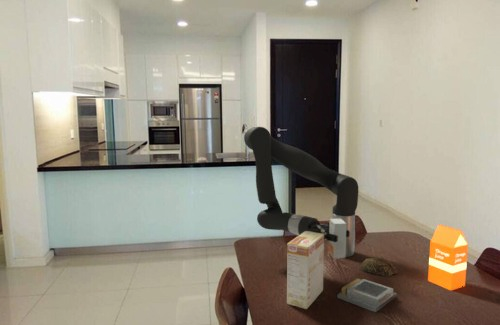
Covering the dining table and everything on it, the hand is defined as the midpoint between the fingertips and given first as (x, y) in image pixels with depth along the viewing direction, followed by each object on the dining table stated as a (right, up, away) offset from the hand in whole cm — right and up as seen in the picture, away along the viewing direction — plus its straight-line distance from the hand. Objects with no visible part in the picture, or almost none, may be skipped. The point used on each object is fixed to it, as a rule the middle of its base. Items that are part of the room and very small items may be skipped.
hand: (343, 236), depth 127 cm
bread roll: (+18, -16, +17) cm, 29 cm away
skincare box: (-2, -7, +2) cm, 8 cm away
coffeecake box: (-13, -19, -5) cm, 23 cm away
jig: (+6, -18, -5) cm, 20 cm away
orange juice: (+37, -17, +5) cm, 41 cm away
